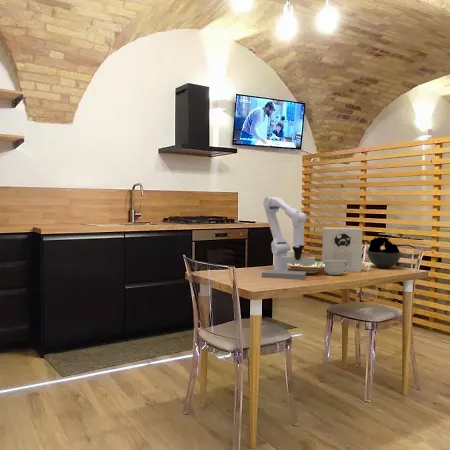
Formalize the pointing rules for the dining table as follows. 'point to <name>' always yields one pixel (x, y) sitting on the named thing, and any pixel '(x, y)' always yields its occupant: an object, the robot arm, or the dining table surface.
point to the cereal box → (343, 247)
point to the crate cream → (290, 254)
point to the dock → (284, 274)
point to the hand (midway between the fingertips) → (298, 259)
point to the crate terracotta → (305, 254)
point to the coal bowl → (383, 252)
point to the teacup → (335, 266)
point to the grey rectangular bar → (293, 261)
